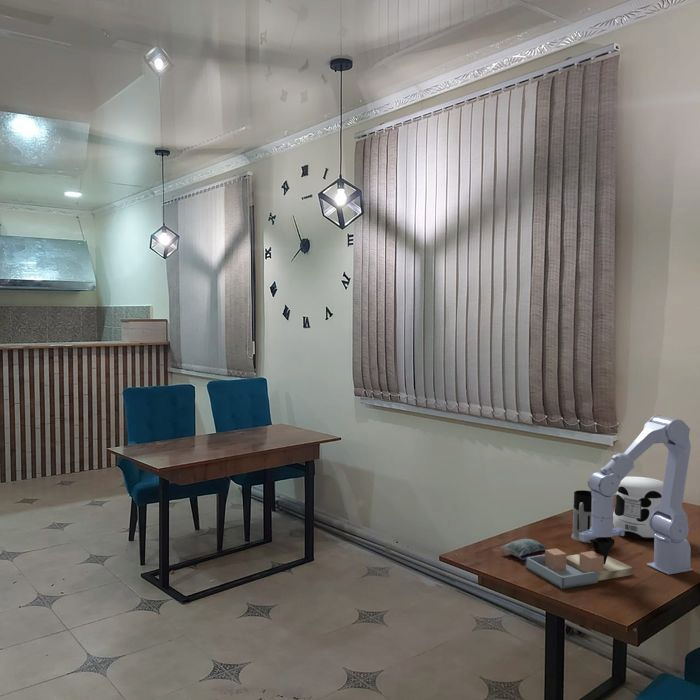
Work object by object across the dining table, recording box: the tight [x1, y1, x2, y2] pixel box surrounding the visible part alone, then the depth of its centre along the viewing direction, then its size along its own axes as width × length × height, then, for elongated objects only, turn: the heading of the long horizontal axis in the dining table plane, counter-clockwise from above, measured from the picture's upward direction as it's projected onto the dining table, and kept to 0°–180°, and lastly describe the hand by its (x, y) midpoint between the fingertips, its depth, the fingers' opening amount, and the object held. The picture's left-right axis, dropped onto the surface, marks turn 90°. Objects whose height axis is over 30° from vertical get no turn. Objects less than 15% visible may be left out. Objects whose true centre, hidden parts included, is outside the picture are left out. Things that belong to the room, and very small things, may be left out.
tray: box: [525, 554, 599, 590], centre depth 182 cm, size 12×16×3 cm
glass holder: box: [570, 489, 592, 544], centre depth 210 cm, size 9×14×15 cm, turn 149°
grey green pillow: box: [499, 538, 548, 561], centre depth 197 cm, size 9×12×5 cm
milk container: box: [613, 476, 664, 540], centre depth 216 cm, size 17×17×18 cm
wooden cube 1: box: [544, 548, 567, 571], centre depth 186 cm, size 4×4×4 cm
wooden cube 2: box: [579, 550, 604, 572], centre depth 181 cm, size 4×4×4 cm
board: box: [566, 553, 634, 582], centre depth 186 cm, size 13×14×2 cm
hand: (601, 563), depth 182 cm, fingers closed
